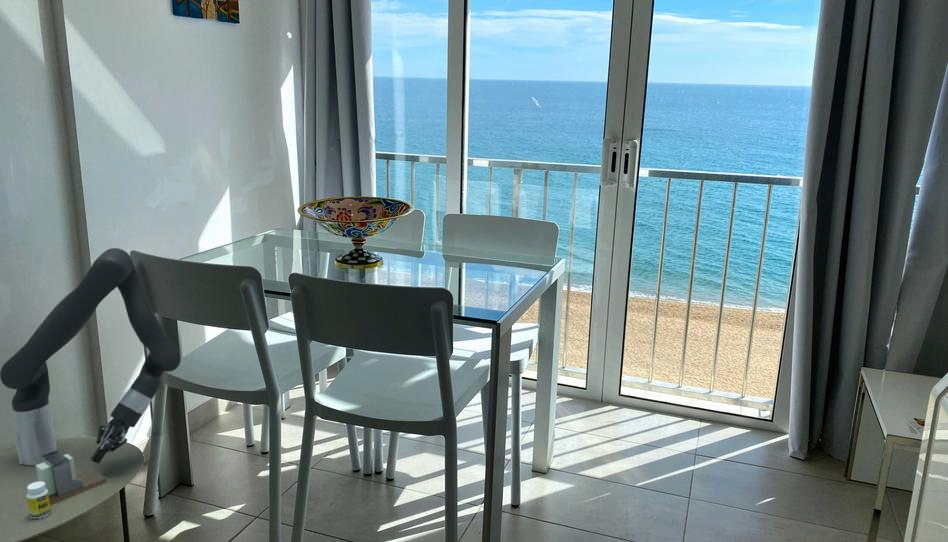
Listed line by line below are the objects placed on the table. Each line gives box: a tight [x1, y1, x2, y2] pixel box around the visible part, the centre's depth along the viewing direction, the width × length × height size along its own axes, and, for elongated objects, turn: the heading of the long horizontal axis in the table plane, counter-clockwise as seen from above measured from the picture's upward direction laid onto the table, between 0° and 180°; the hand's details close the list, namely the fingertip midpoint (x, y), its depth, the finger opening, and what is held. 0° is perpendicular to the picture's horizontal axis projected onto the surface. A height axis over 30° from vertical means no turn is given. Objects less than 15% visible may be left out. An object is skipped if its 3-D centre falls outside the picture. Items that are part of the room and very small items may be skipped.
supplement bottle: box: [26, 481, 52, 520], centre depth 182 cm, size 5×5×8 cm
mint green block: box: [35, 453, 77, 496], centre depth 192 cm, size 8×4×8 cm, turn 141°
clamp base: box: [41, 449, 107, 506], centre depth 195 cm, size 15×9×10 cm, turn 141°
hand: (94, 461), depth 200 cm, fingers closed
